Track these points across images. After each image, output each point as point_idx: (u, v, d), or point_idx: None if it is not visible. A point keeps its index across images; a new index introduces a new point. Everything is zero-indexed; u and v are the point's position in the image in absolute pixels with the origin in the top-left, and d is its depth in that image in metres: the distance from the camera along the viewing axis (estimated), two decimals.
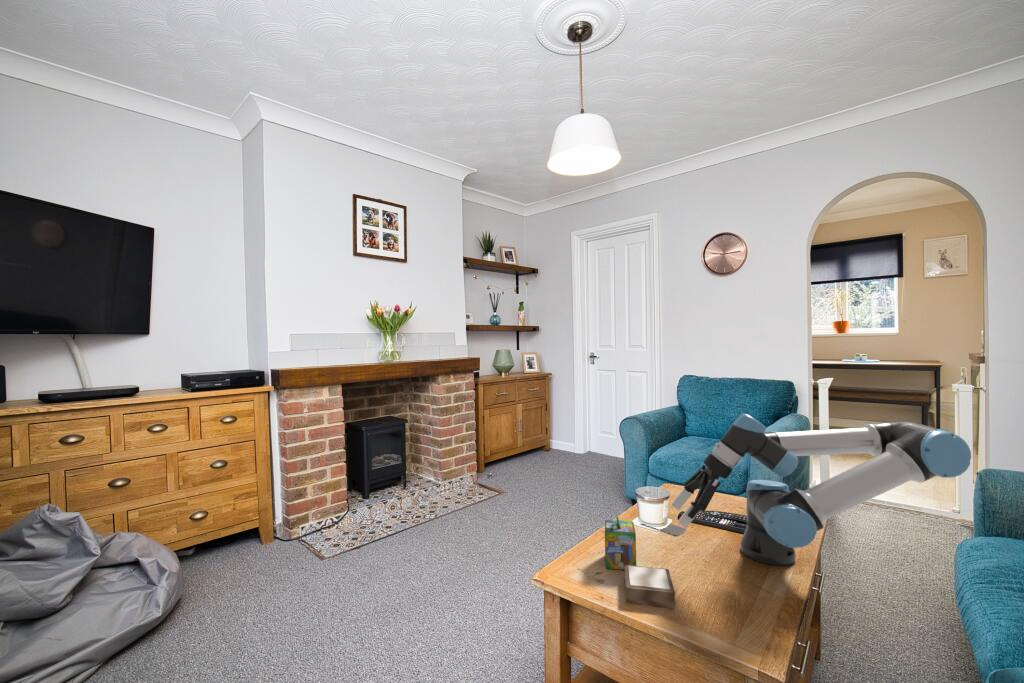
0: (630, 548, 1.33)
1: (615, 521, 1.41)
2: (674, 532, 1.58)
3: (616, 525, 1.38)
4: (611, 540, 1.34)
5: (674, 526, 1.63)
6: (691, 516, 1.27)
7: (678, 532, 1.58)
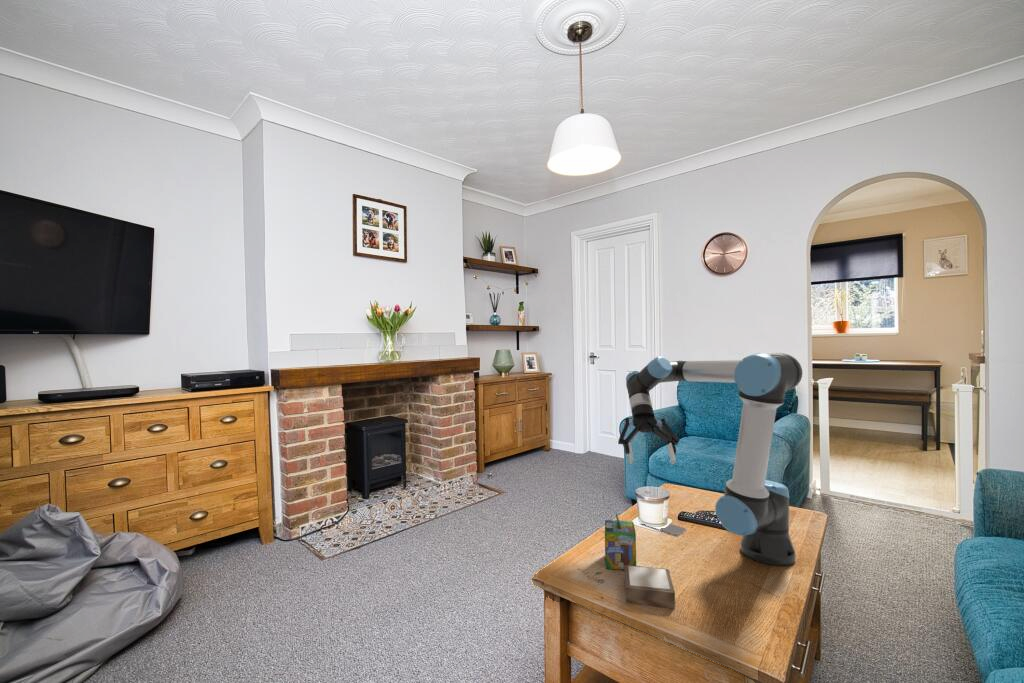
0: (630, 548, 1.33)
1: (615, 521, 1.41)
2: (674, 532, 1.58)
3: (616, 525, 1.38)
4: (611, 540, 1.34)
5: (674, 526, 1.63)
6: (625, 451, 1.50)
7: (678, 532, 1.58)
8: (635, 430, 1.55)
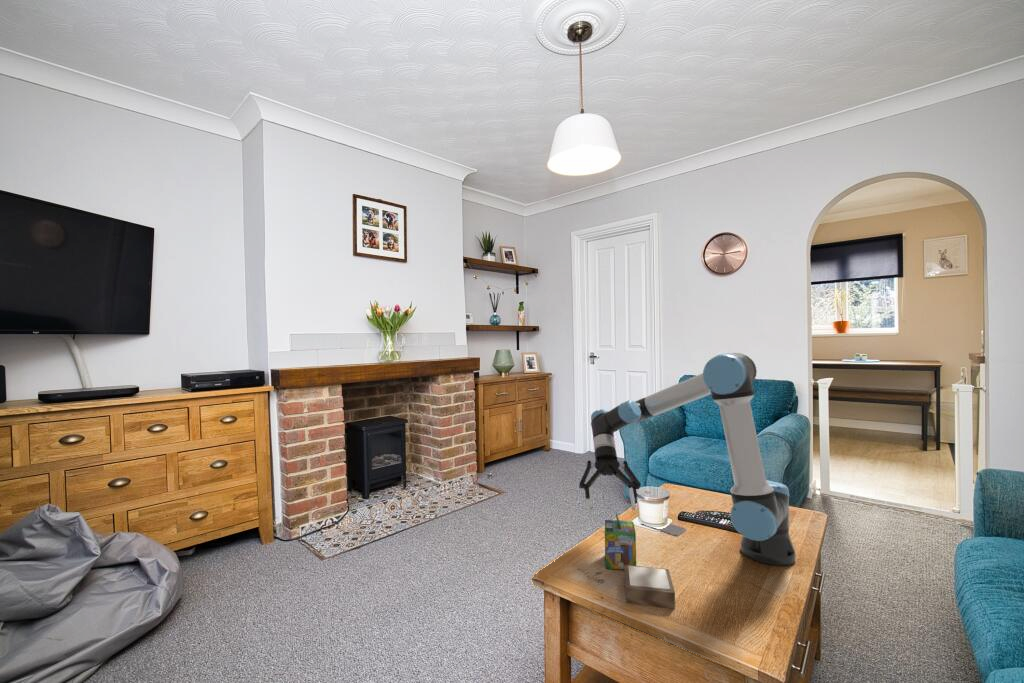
0: (630, 548, 1.33)
1: (615, 521, 1.41)
2: (674, 532, 1.58)
3: (616, 525, 1.38)
4: (611, 540, 1.34)
5: (674, 526, 1.63)
6: (586, 496, 1.48)
7: (678, 532, 1.58)
8: (596, 474, 1.52)
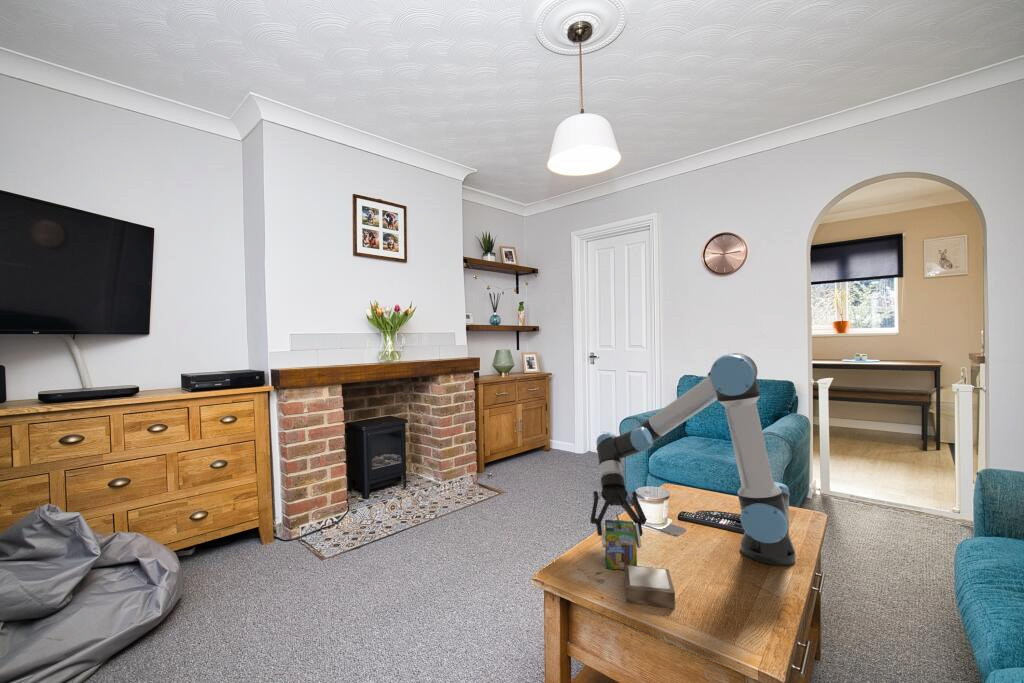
0: (630, 548, 1.33)
1: (615, 521, 1.41)
2: (674, 532, 1.58)
3: (616, 525, 1.38)
4: (612, 539, 1.34)
5: (674, 526, 1.63)
6: (598, 532, 1.37)
7: (678, 532, 1.58)
8: (606, 505, 1.42)
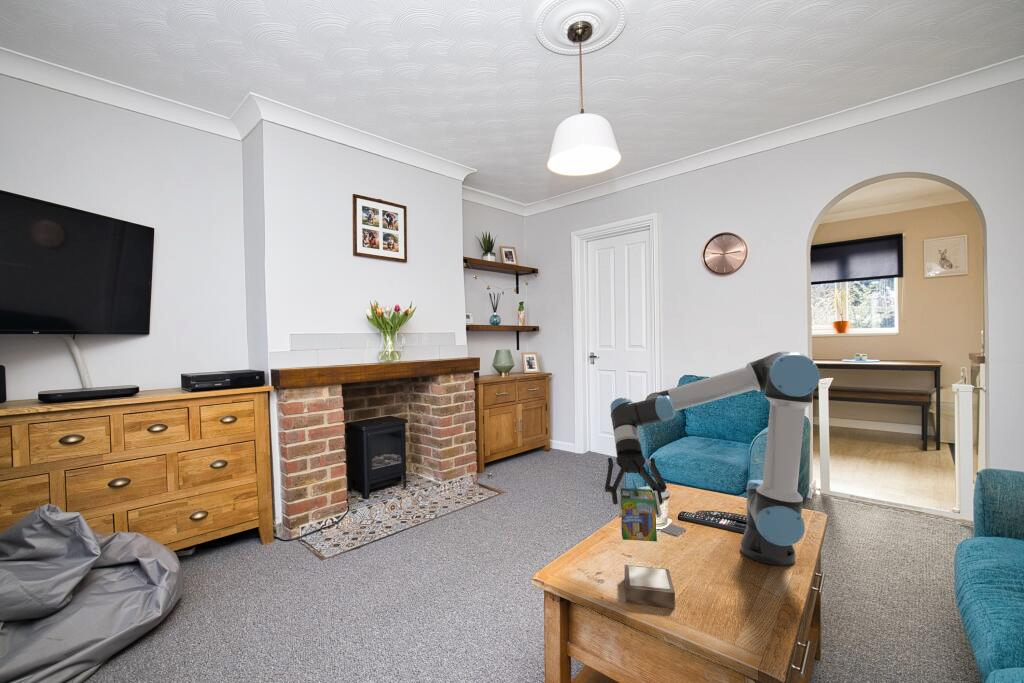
0: (649, 516, 1.20)
1: (632, 489, 1.29)
2: (674, 532, 1.58)
3: (633, 493, 1.26)
4: (629, 508, 1.22)
5: (674, 526, 1.63)
6: (613, 501, 1.25)
7: (678, 532, 1.57)
8: (621, 472, 1.30)
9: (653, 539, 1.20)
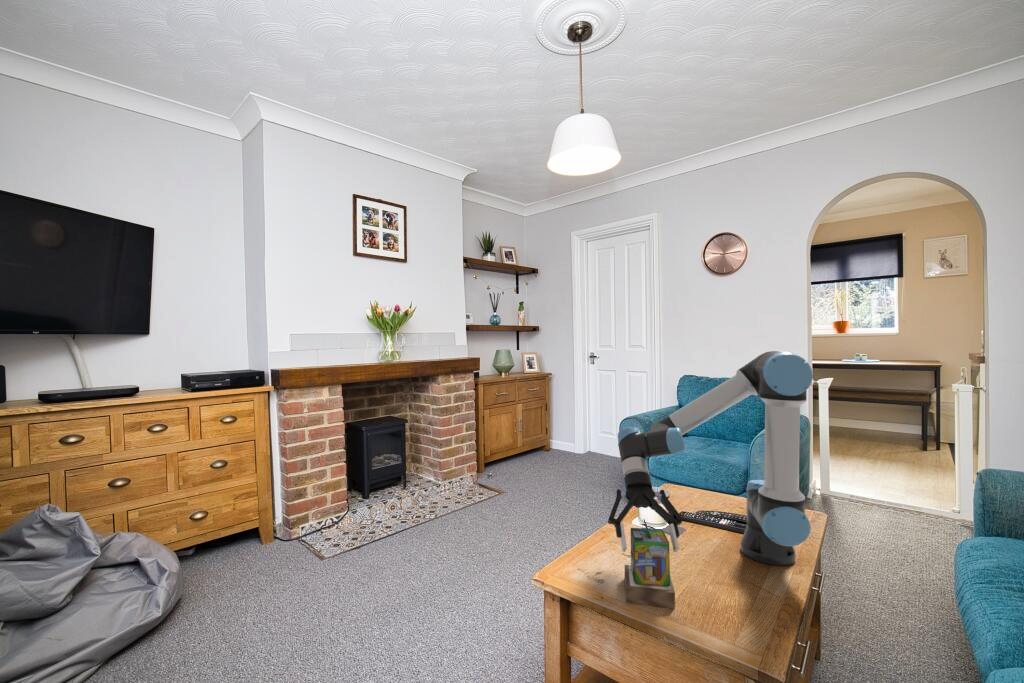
0: (663, 560, 1.17)
1: (642, 529, 1.25)
2: None
3: (645, 534, 1.22)
4: (642, 551, 1.17)
5: None
6: (617, 534, 1.22)
7: None
8: (629, 506, 1.26)
9: (666, 583, 1.16)
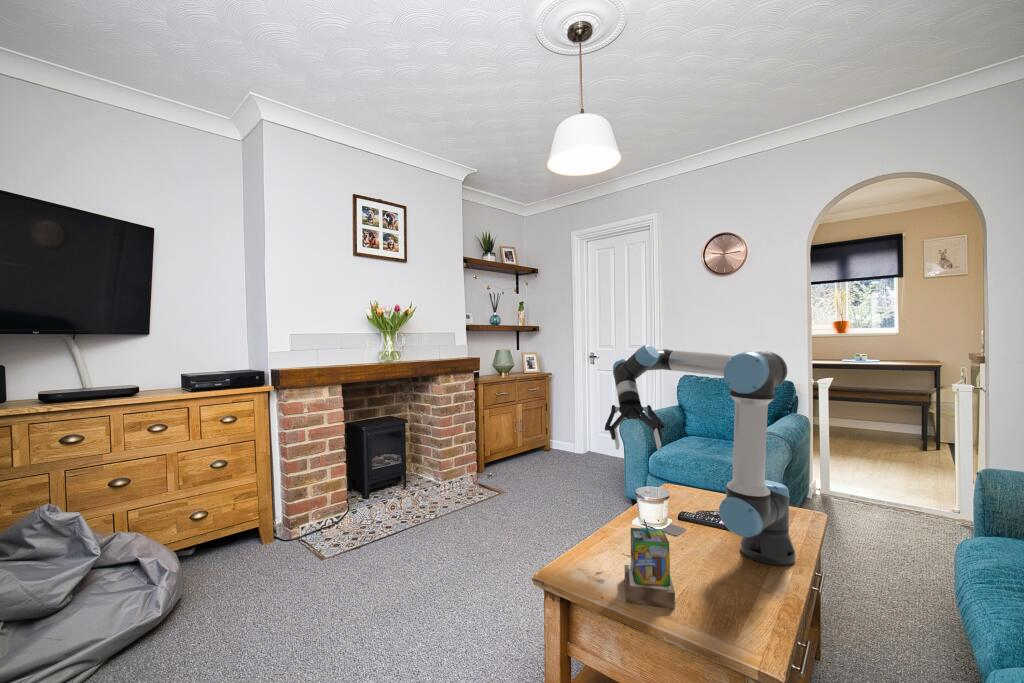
0: (663, 560, 1.17)
1: (642, 529, 1.25)
2: (673, 532, 1.58)
3: (645, 534, 1.22)
4: (642, 551, 1.17)
5: (674, 526, 1.63)
6: (611, 437, 1.51)
7: (677, 532, 1.57)
8: (621, 416, 1.56)
9: (666, 583, 1.16)
